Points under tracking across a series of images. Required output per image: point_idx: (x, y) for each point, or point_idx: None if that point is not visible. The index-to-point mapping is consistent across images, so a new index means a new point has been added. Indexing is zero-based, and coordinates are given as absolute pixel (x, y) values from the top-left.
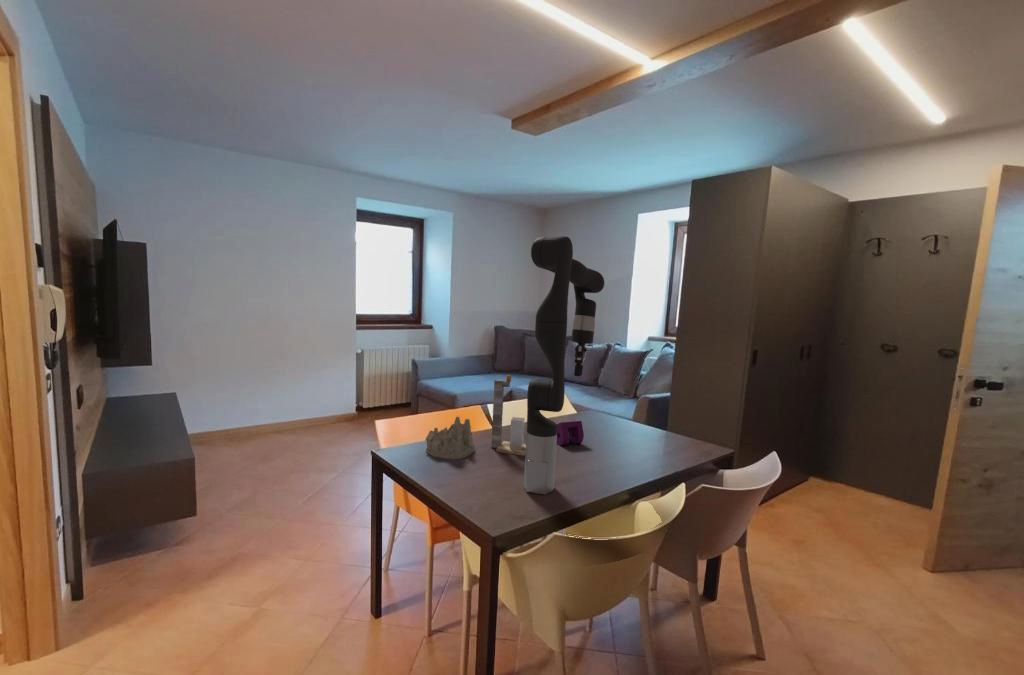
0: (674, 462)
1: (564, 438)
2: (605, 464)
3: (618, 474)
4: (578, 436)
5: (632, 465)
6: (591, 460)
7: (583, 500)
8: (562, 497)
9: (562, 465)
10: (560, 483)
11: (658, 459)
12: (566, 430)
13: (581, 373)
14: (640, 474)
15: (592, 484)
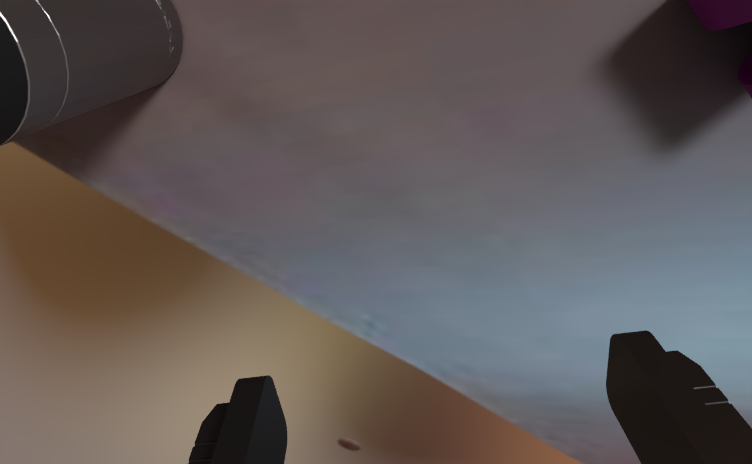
0: (607, 432)
1: (694, 7)
2: (490, 226)
3: (404, 275)
4: (749, 83)
5: (519, 314)
6: (516, 169)
7: (135, 195)
8: (111, 131)
9: (398, 61)
10: (212, 98)
11: None
12: (742, 15)
13: (617, 414)
14: (439, 337)
15: (269, 205)
